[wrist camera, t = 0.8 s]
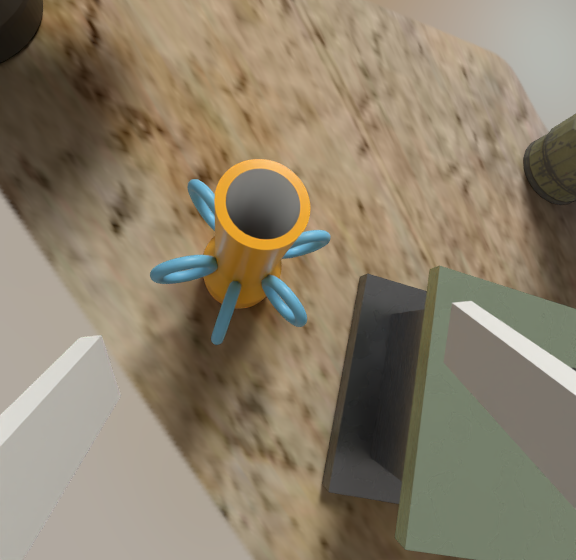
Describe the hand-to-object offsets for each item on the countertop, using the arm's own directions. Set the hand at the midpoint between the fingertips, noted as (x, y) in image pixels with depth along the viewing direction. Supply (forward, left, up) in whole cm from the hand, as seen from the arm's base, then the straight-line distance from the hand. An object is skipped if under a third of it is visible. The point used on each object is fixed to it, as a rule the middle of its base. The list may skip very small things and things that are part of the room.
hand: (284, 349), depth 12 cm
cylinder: (-6, -2, -15) cm, 16 cm away
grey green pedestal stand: (0, +18, -15) cm, 23 cm away
